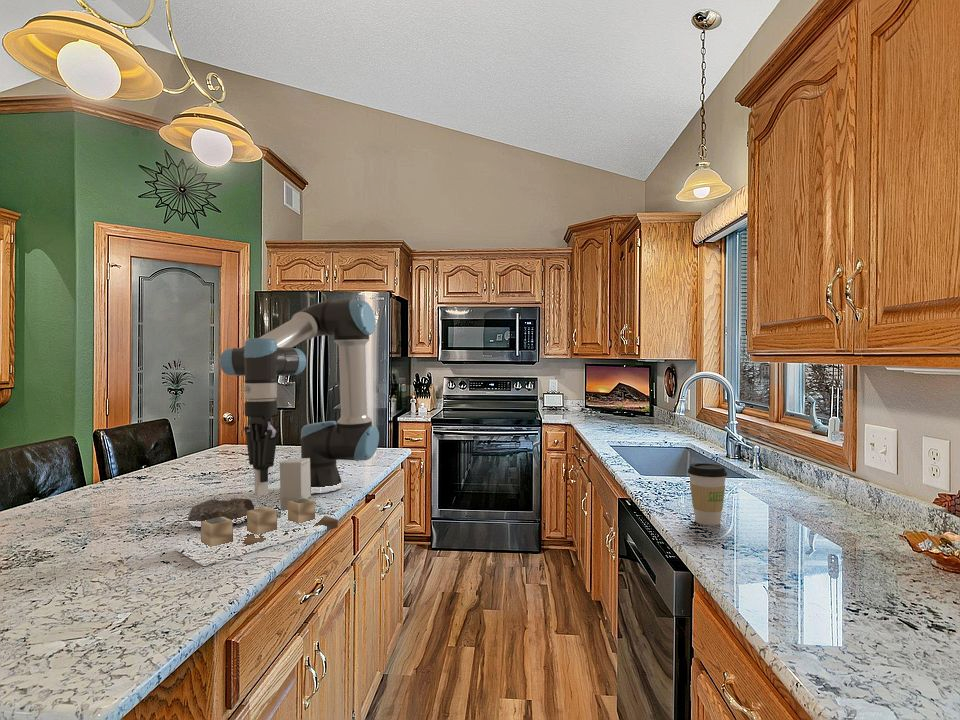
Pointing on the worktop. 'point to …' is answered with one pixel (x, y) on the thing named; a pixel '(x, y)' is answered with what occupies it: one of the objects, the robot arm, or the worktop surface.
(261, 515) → the plain beech block
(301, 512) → the marked block 2
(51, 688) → the worktop surface
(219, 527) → the marked block 1
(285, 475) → the skincare box
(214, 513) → the rock
